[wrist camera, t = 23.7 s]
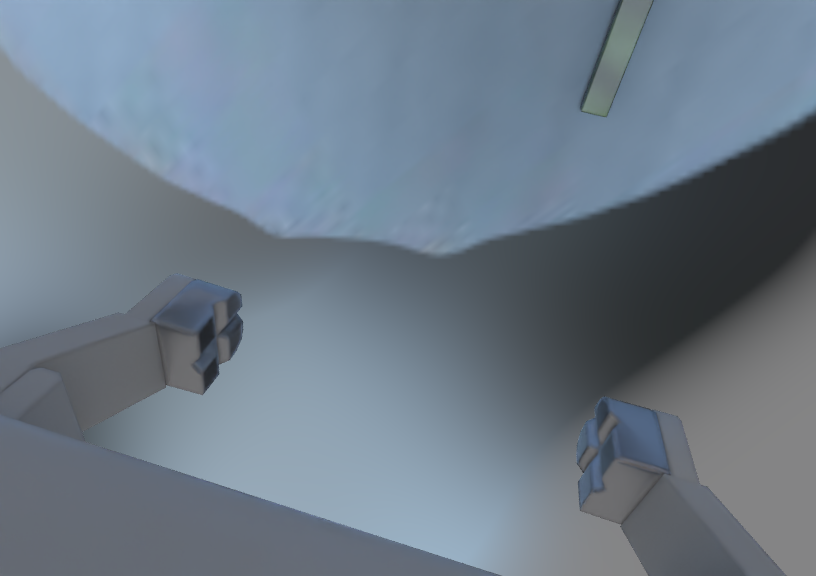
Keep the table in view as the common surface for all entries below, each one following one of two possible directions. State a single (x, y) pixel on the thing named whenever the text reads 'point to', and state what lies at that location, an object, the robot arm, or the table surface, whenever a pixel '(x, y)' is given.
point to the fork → (615, 55)
